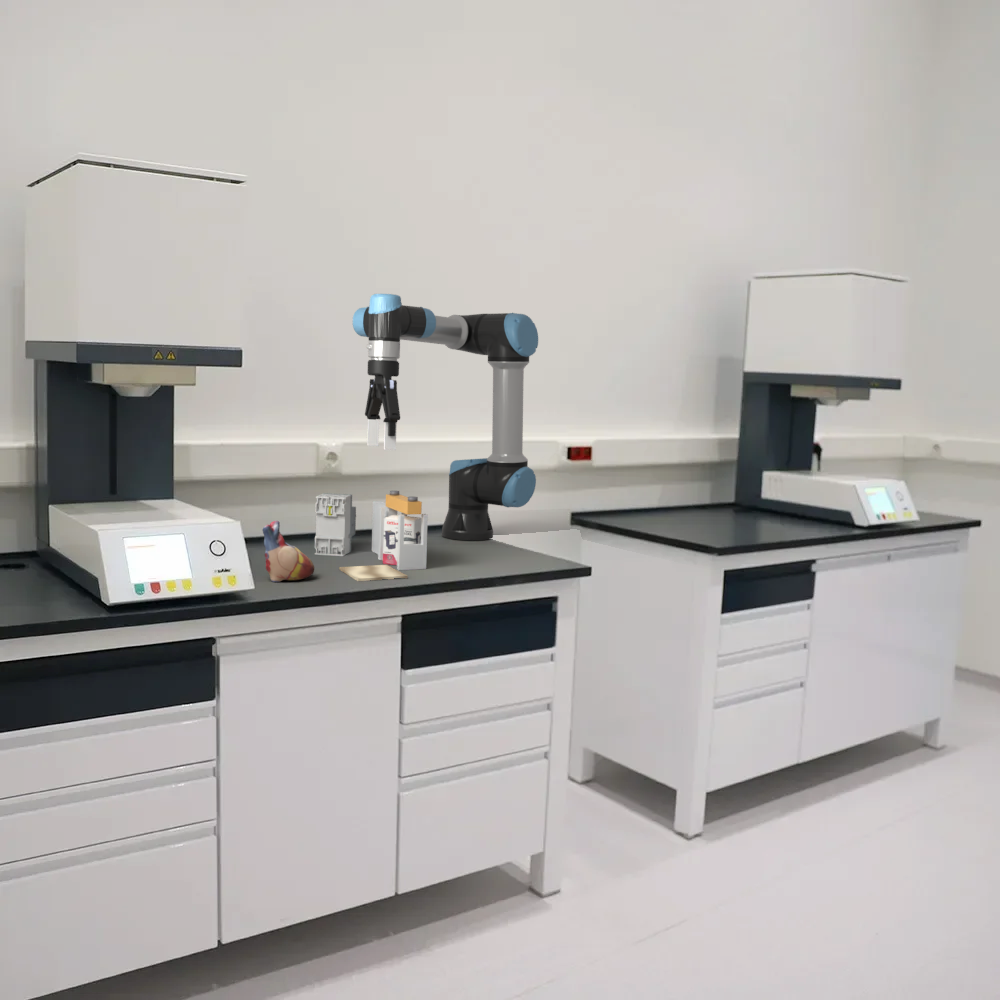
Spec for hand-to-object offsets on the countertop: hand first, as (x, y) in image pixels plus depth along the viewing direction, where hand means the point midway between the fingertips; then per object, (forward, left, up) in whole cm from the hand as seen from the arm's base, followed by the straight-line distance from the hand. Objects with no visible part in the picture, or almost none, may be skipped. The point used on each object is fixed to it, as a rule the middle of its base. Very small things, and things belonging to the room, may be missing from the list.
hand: (381, 448), depth 242 cm
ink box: (-6, 0, -29) cm, 30 cm away
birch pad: (+5, +10, -29) cm, 31 cm away
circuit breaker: (+4, -22, -29) cm, 37 cm away
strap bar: (-6, 0, -15) cm, 16 cm away
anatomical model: (+25, +11, -29) cm, 40 cm away
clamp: (-6, -5, -29) cm, 30 cm away
